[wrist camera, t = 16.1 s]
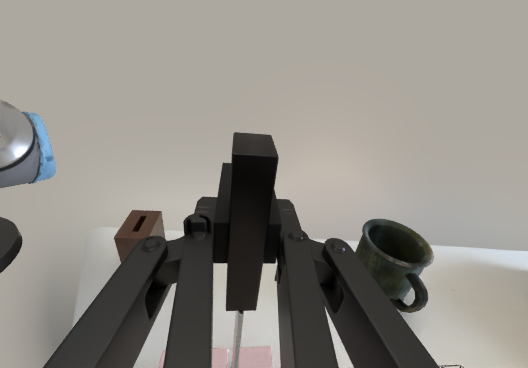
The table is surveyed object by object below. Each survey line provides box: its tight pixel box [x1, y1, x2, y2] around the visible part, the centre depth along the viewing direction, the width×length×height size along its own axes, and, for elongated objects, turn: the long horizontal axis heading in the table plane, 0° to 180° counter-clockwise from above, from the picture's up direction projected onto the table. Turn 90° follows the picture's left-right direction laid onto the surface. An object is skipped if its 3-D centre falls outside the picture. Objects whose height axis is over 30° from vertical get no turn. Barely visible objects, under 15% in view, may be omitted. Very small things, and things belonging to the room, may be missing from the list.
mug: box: [355, 219, 434, 313], centre depth 41 cm, size 11×15×12 cm
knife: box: [226, 132, 278, 368], centre depth 16 cm, size 2×3×23 cm, turn 5°
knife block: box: [114, 210, 165, 264], centre depth 41 cm, size 5×7×10 cm
